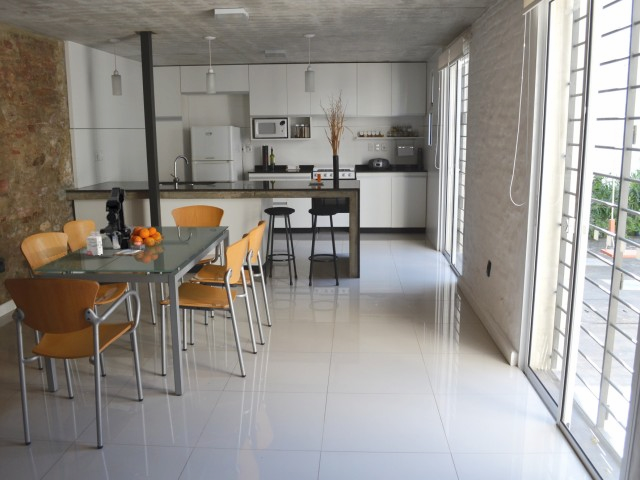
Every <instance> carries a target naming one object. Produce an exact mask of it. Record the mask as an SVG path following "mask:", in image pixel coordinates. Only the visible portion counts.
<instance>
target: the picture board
mask: <svg viewBox="0 0 640 480" xmlns="http://www.w3.org/2000/svg"><path fill="white" fill-rule="evenodd" d="M144 252H145V249H144V250H131V249H121V250H120V251H117V252H114V253H112V256H116V257H117V256H122V257H124V256H125V257H134V256H136V255H138V254H141V253H144Z"/></svg>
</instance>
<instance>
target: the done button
mask: <svg viewBox="0 0 640 480" xmlns="http://www.w3.org/2000/svg"><path fill="white" fill-rule="evenodd" d="M133 244H134V246H141V245H142V242H141V241H134V242H133Z"/></svg>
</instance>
